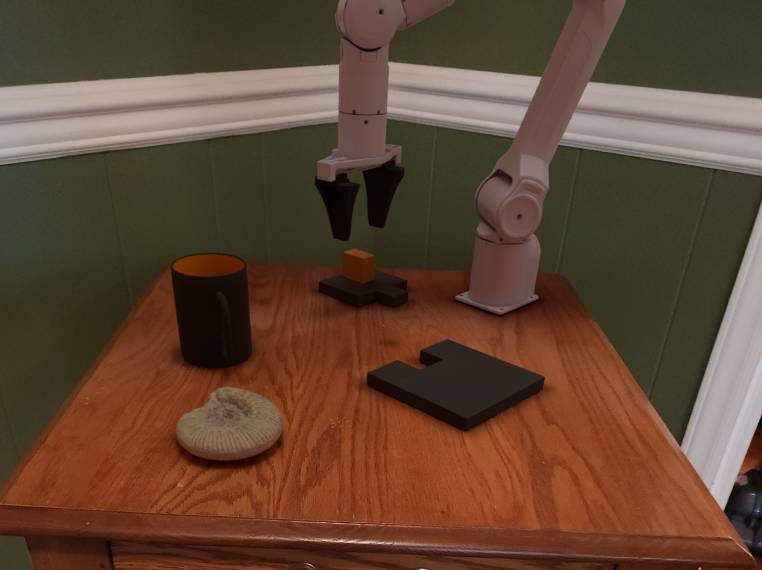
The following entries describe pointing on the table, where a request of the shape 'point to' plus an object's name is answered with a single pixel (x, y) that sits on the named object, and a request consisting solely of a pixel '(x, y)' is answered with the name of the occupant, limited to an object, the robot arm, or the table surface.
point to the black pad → (364, 282)
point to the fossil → (230, 425)
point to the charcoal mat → (457, 384)
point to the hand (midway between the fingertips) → (359, 232)
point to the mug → (212, 309)
